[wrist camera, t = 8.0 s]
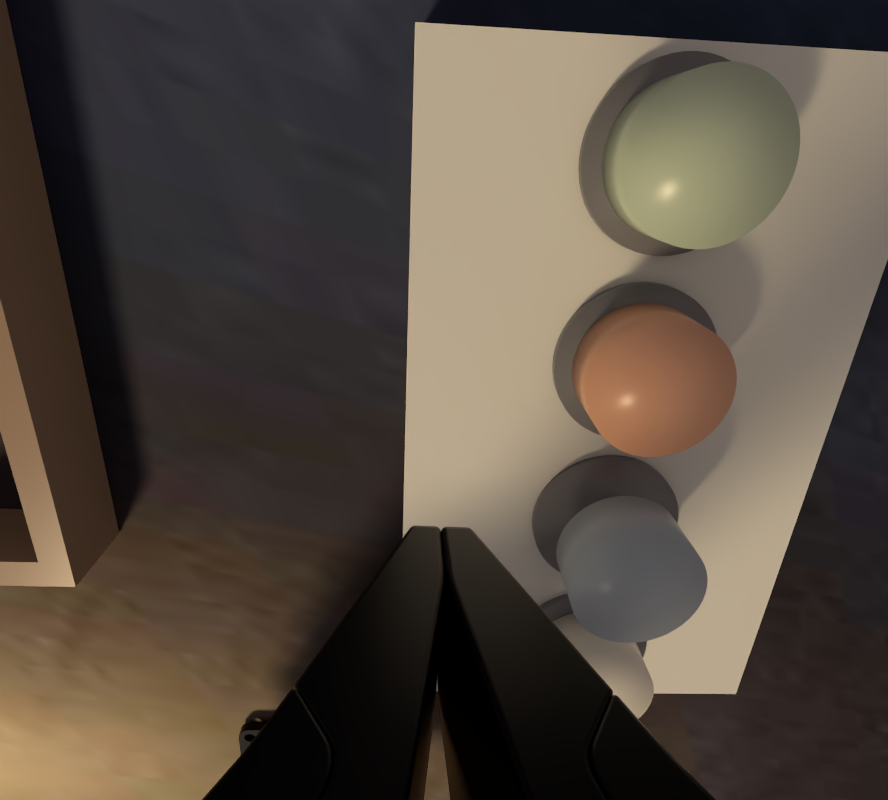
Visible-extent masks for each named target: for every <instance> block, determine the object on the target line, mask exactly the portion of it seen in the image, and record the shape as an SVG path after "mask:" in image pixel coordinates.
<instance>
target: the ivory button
mask: <svg viewBox="0 0 888 800" xmlns="http://www.w3.org/2000/svg"><path fill="white" fill-rule="evenodd" d="M553 623H554V624H555V625H556V626H557V627H558V628H559V629H560V631H561V632H562V633H563V634H564V635H565V636H566V637H567V639H568V640H569V641H570V642H571V643H572V644H573V645H574V647H575V648H576V649H577V650H578V651H579V652H580V653H581V655H582V656H583V657H584V658H585V659H586V660H587V661H588V663H589V664H590V665H591V666H592V667H593V668H594V669H595V671H596V672H597V673H598V674H599V675H600V676H601V677H602V679H603V680H604V681H605V682H606V683H607V684H608V685H609V687H610V688H611V689H612V691H613V695H617V696H618V697H619V698H620V699H621V700H622V701H623V702H624V703H625V705H626V706H627V707H628V708H629V709H630V710H631V711H632V713H633V714H634V715H635V716H636V717H637V718H638V719H639V718H640V717H641V716H642V715H643V714H644V713H645V711H646V710H647V709H648V707H649V705H650V703H651V701H652V698H653V694H654V686H653V681H652V679H651V676H650V674H649V672H648V669H647V667H646V665H645V662H644V660H643V658H642V655H641V653H640V651H639V648H638V646H637V644H636V643H620V642H613V641H609V640H605V639H602V638H600V637H598V636H595V635H594V634H592V633H590V632H589V631H588V630H586V629H585V628H584V627H583V626H582V625H581V624H580V623H579V621H578V620H577V618H576V617H575V615H574V613H572V614H568V615H565V616H563V617H560V618H558V619H556V620H554V621H553Z"/></svg>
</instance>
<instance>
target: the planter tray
mask: <svg viewBox="0 0 888 800" xmlns="http://www.w3.org/2000/svg"><path fill="white" fill-rule="evenodd" d="M0 431H1V435H2V438H3V442H4V445H5V449H6V452H7V456H8V459H9V463H10V466H11V469H12V473H13V476H14V480H15V483H16V487H17V490H18V494H19V497H20V501H21V504H22V508H23V509H1V508H0V586H59V587H76V586H77V584H78V583H79V582H80V581H81V579H82V578H83V577H84V576H85V575H86V573H87V572H88V571H89V570H90V568H91V567H92V566H93V565H94V563H95V562H96V561H97V560H98V558H99V557H100V556H101V555H102V553H103V552H104V551H105V550H106V549H107V547H108V546H109V545H110V544H111V542H112V541H113V540H114V539H115V537H116V536H117V535H118V534H119V529H118V525H117V520H116V515H115V511H114V506H113V501H112V497H111V492H110V487H109V483H108V478H107V473H106V469H105V464H104V459H103V454H102V450H101V445H100V440H99V436H98V431H97V426H96V422H95V417H94V412H93V408H92V403H91V398H90V394H89V389H88V384H87V379H86V375H85V370H84V365H83V361H82V356H81V351H80V347H79V342H78V337H77V333H76V328H75V323H74V319H73V314H72V309H71V304H70V300H69V295H68V290H67V286H66V281H65V276H64V272H63V267H62V262H61V258H60V253H59V248H58V244H57V239H56V234H55V229H54V225H53V220H52V215H51V211H50V206H49V201H48V197H47V192H46V187H45V183H44V178H43V173H42V169H41V164H40V159H39V154H38V150H37V145H36V140H35V136H34V131H33V126H32V122H31V117H30V112H29V108H28V103H27V98H26V94H25V89H24V84H23V79H22V75H21V70H20V65H19V61H18V56H17V51H16V47H15V42H14V37H13V33H12V28H11V23H10V19H9V14H8V9H7V4H6V0H0Z"/></svg>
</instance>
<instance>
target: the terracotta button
mask: <svg viewBox="0 0 888 800" xmlns="http://www.w3.org/2000/svg"><path fill="white" fill-rule="evenodd" d="M572 381H573V386H574V390H575V393H576V395H577V397H578V399H579V401H580V403H581V404H582V406H583V407H584V409H585V411H586V412H587V414H588V415H589V417H590V419H591V420H592V422H593V423H594V425H595V427H596V428H597V430H598V431H599V433H600V434H601V435H602V437H603V438H604V439H605V440H606V441H607V442H608V443H610V444H611V445H612V446H614V447H615V448H617V449H619V450H621V451H623V452H625V453H628V454H631V455H635V456H641V457H661V456H668V455H671V454H675V453H678V452H681V451H684V450H686V449H688V448H690V447H692V446H694V445H695V444H697V443H699V442H700V441H702V440H703V439H704V438H706V437H707V436H708V435H709V434H710V433H711V432H712V431H713V430H714V429H715V428H716V427H717V426H718V425H719V424H720V422H721V421H722V420H723V418H724V417H725V415H726V414H727V412H728V410H729V408H730V406H731V404H732V401H733V398H734V395H735V391H736V384H737V372H736V366H735V361H734V358H733V356H732V354H731V351H730V350H729V348H728V347H727V345H726V344H725V343H724V341H723V340H722V339H721V338H720V337H719V336H718V335H716V334H715V333H714V332H712V331H711V330H709V329H708V328H706V327H704V326H703V325H701V324H699V323H698V322H696V321H695V320H693V319H691V318H690V317H688V316H686V315H685V314H683V313H682V312H680V311H678V310H677V309H675V308H672V307H670V306H668V305H664V304H660V303H652V302H642V303H635V304H630V305H627V306H623V307H621V308H618V309H616V310H614V311H612V312H610V313H608V314H607V315H605V316H604V317H602V318H601V319H600V320H598V321H597V322H596V323H595V324H594V325H593V326H592V327H591V328H590V329H589V331H588V332H587V333H586V334H585V336H584V337H583V339H582V340H581V342H580V344H579V346H578V348H577V351H576V353H575V356H574V360H573V365H572Z"/></svg>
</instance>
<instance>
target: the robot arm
mask: <svg viewBox="0 0 888 800" xmlns="http://www.w3.org/2000/svg"><path fill="white" fill-rule="evenodd" d="M437 684H438V700H439V711H440V719H441V727H442V735H443V743H444V751H445V759H446V767H447V776H448V784H449V792H450V800H716V799H714V798H713V797H712V796H711V795H710V794H709V793H708V792H707V791H706V790H705V789H704V788H703V787H702V786H701V785H700V784H699V783H698V782H697V781H696V780H695V779H694V778H693V777H692V776H691V775H690V774H689V773H688V772H687V771H686V770H685V769H684V768H683V767H682V766H681V765H680V764H679V763H678V762H677V761H676V760H675V759H674V757H673V756H672V755H671V754H670V753H669V752H668V751H667V750H666V749H665V748H664V747H663V746H662V744H661V743H660V742H659V741H658V740H657V739H656V738H655V737H654V736H653V735H652V734H651V732H650V731H649V730H648V729H647V728H646V727H645V726H644V725H643V724H642V723H641V722H640V721H639V719H638V718H637V717H636V716H635V715H634V714H633V713H632V711H631V710H630V709H629V708H628V707H627V706H626V705H625V703H624V702H623V701H622V700H621V699H620V698H619V697H618V696H617V695H613V691H612V689H611V688H610V687H609V685H608V684H607V683H606V682H605V681H604V680H603V679H602V677H601V676H600V675H599V674H598V673H597V672H596V671H595V669H594V668H593V667H592V666H591V665H590V664H589V663H588V661H587V660H586V659H585V658H584V657H583V656H582V655H581V653H580V652H579V651H578V650H577V649H576V648H575V647H574V645H573V644H572V643H571V642H570V641H569V640H568V639H567V637H566V636H565V635H564V634H563V633H562V632H561V631H560V629H559V628H558V627H557V626H556V625H555V624H554V623H553V621H552V620H551V619H550V618H549V617H548V616H547V615H546V613H545V612H544V611H543V610H542V609H541V608H540V607H539V605H538V604H537V603H536V602H535V601H534V600H533V599H532V597H531V596H530V595H529V594H528V593H527V592H526V591H525V589H524V588H523V587H522V586H521V585H520V584H519V583H518V581H517V580H516V579H515V578H514V577H513V576H512V575H511V573H510V572H509V571H508V570H507V569H506V568H505V566H504V565H503V564H502V563H501V562H500V561H499V560H498V558H497V557H496V556H495V555H494V554H493V553H492V552H491V550H490V549H489V548H488V547H487V546H486V545H485V544H484V542H483V541H482V540H481V539H480V538H479V537H478V536H477V534H476V533H475V532H474V531H473V530H472V529H471V528H469V527H444V528H442V530H440V528H438V527H437V526H412V527H411V528H410V529H409V530H408V531H407V533H406V534H405V535H404V537H403V538H402V539H401V541H400V542H399V544H398V545H397V546H396V548H395V549H394V550H393V552H392V553H391V554H390V556H389V557H388V559H387V560H386V561H385V563H384V564H383V565H382V567H381V568H380V569H379V571H378V572H377V574H376V575H375V576H374V578H373V579H372V580H371V582H370V583H369V584H368V586H367V587H366V589H365V590H364V591H363V593H362V594H361V595H360V597H359V598H358V599H357V601H356V602H355V604H354V605H353V606H352V608H351V609H350V610H349V612H348V613H347V614H346V616H345V617H344V619H343V620H342V621H341V623H340V624H339V625H338V627H337V628H336V629H335V631H334V632H333V634H332V635H331V636H330V638H329V639H328V640H327V642H326V643H325V644H324V646H323V647H322V648H321V650H320V651H319V653H318V654H317V655H316V657H315V658H314V659H313V661H312V662H311V663H310V665H309V666H308V668H307V669H306V670H305V672H304V673H303V674H302V676H301V677H300V678H299V680H298V681H297V683H296V684H295V686H294V689H293V690H291V691H290V692H289V693H288V694H287V696H286V697H285V698H284V700H283V701H282V702H281V704H280V705H279V707H278V708H277V709H276V711H275V712H274V713H273V715H272V716H271V718H270V719H269V720H268V721H267V722H250V723H246V724H244V725H243V726H242V728H241V731H240V734H239V743H240V750H241V756H240V757H239V758H238V759H237V761H236V762H235V763H234V764H233V765H232V766H231V767H230V768H229V770H228V771H227V772H226V773H225V774H224V775H223V776H222V778H221V779H220V780H219V781H218V782H217V783H216V784H215V786H214V787H213V788H212V789H211V790H210V791H209V792H208V793H207V795H206V796H205V797H204V798H203V799H202V800H424V793H425V785H426V777H427V768H428V760H429V752H430V744H431V736H432V727H433V719H434V711H435V700H436V689H437Z"/></svg>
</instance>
